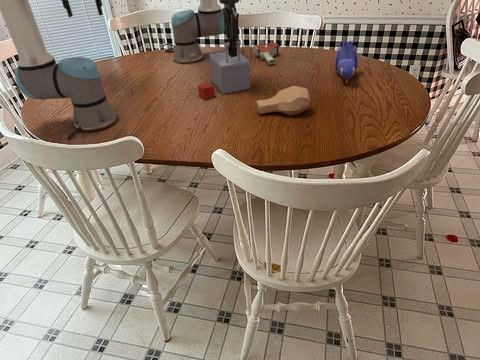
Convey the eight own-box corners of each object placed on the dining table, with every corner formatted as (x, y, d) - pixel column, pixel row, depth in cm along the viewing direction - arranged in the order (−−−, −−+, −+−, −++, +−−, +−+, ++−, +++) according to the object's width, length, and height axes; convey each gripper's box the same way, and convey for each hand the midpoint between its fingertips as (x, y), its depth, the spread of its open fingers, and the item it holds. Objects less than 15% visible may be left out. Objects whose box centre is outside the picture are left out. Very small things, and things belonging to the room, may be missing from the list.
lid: (249, 63, 145) (249, 41, 140) (221, 68, 142) (219, 45, 137) (236, 52, 159) (234, 31, 153) (209, 56, 156) (207, 35, 150)
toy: (333, 77, 168) (334, 87, 145) (335, 39, 161) (336, 43, 139) (355, 77, 166) (359, 86, 143) (358, 38, 159) (363, 42, 137)
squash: (314, 116, 128) (313, 95, 122) (259, 125, 130) (256, 105, 124) (308, 99, 136) (307, 78, 129) (257, 108, 138) (253, 88, 131)
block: (214, 96, 147) (213, 85, 144) (204, 100, 145) (203, 88, 142) (209, 93, 150) (207, 82, 148) (199, 96, 148) (197, 85, 146)
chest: (250, 88, 152) (249, 63, 146) (222, 93, 149) (220, 68, 143) (237, 76, 165) (236, 52, 159) (211, 81, 162) (209, 56, 156)
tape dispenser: (271, 69, 174) (289, 54, 187) (272, 58, 171) (290, 44, 183) (241, 62, 182) (260, 49, 194) (241, 52, 178) (260, 39, 191)
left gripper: (102, -44, 147) (116, 12, 160) (44, -40, 148) (61, 15, 160) (96, -42, 141) (111, 15, 153) (35, -38, 142) (54, 19, 154)
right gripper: (245, -8, 125) (247, 59, 139) (231, -13, 136) (235, 49, 150) (225, -6, 123) (229, 62, 137) (213, -11, 135) (218, 52, 149)
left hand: (85, 15), depth 157 cm, fingers open, 13 cm apart
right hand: (232, 55), depth 144 cm, fingers closed on lid, 2 cm apart
